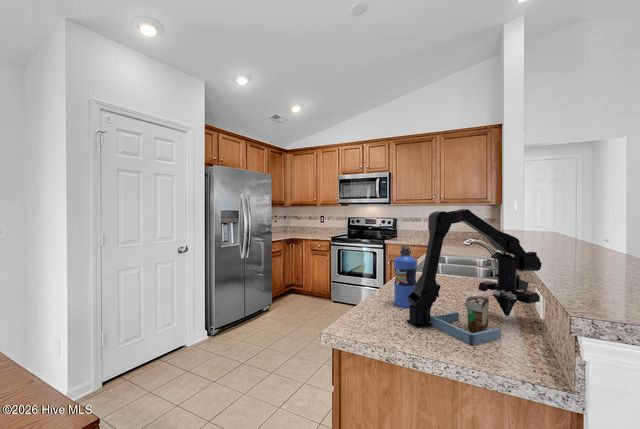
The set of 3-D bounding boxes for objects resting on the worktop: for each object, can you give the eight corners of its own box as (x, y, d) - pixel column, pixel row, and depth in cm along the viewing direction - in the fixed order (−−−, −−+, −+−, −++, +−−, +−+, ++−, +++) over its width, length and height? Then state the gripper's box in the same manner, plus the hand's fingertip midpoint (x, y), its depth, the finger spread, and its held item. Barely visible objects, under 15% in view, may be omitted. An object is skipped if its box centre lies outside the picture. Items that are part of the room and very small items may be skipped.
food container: (469, 321, 106) (469, 293, 105) (489, 325, 102) (489, 296, 102) (460, 333, 96) (460, 302, 96) (481, 338, 92) (481, 305, 92)
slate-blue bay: (472, 345, 87) (472, 335, 87) (430, 325, 103) (430, 316, 103) (500, 338, 91) (500, 328, 91) (456, 319, 107) (456, 311, 107)
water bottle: (409, 309, 118) (408, 247, 118) (389, 304, 126) (389, 245, 125) (421, 304, 125) (421, 245, 124) (402, 299, 132) (402, 243, 131)
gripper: (550, 274, 99) (550, 321, 99) (498, 265, 116) (498, 305, 116) (528, 277, 95) (528, 326, 95) (477, 267, 112) (477, 308, 112)
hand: (506, 315), depth 105 cm, fingers closed
